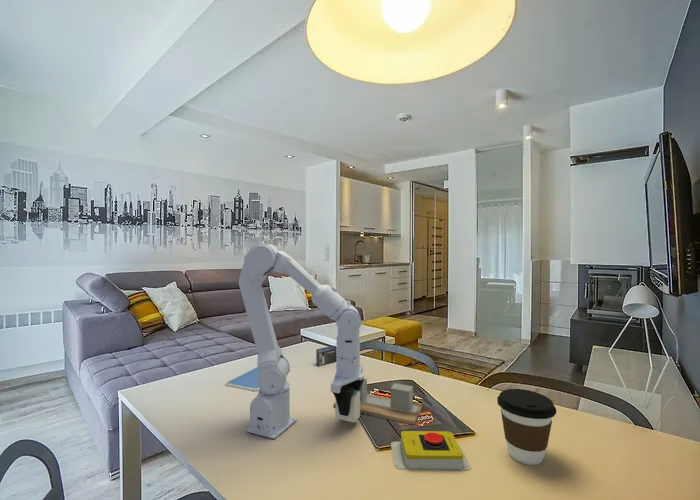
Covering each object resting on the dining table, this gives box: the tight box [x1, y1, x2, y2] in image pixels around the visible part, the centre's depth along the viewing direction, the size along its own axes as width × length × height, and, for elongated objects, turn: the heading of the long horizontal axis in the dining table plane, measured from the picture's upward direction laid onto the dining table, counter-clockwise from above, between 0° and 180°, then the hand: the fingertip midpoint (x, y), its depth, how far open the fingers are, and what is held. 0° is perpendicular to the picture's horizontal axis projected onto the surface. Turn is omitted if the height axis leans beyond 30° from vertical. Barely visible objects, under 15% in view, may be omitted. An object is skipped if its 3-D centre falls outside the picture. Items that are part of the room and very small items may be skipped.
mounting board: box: [333, 393, 424, 425], centre depth 93 cm, size 10×22×1 cm, turn 66°
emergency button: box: [390, 430, 472, 471], centre depth 71 cm, size 9×4×15 cm
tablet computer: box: [224, 366, 291, 392], centre depth 114 cm, size 19×13×1 cm, turn 158°
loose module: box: [334, 390, 361, 423], centre depth 84 cm, size 4×5×6 cm
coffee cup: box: [496, 388, 557, 466], centre depth 71 cm, size 11×11×12 cm
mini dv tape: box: [315, 344, 337, 368], centre depth 127 cm, size 8×2×6 cm, turn 131°
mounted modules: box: [359, 377, 414, 411], centre depth 93 cm, size 4×18×5 cm, turn 66°
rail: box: [360, 397, 418, 415], centre depth 93 cm, size 4×21×1 cm, turn 66°
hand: (347, 410), depth 84 cm, fingers closed on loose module, 4 cm apart
